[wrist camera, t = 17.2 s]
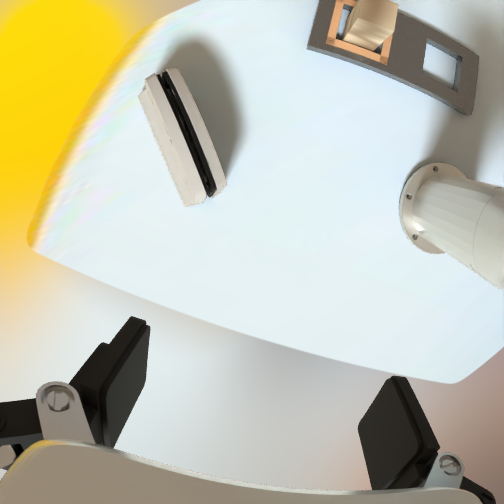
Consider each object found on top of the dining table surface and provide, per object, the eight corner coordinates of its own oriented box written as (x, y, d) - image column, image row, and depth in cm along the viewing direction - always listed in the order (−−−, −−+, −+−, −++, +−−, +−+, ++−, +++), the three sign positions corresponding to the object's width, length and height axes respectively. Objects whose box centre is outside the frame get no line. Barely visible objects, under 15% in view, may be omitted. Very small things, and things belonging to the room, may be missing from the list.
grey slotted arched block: (138, 96, 36) (130, 67, 26) (171, 83, 37) (173, 51, 27) (186, 209, 40) (191, 213, 31) (219, 194, 41) (235, 193, 31)
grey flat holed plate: (473, 58, 30) (479, 56, 29) (466, 115, 33) (472, 114, 32) (322, -10, 30) (323, -15, 28) (306, 49, 33) (308, 44, 31)
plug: (374, 30, 31) (398, 4, 23) (369, 54, 33) (393, 31, 24) (346, 20, 31) (363, -10, 23) (340, 43, 32) (358, 17, 24)
